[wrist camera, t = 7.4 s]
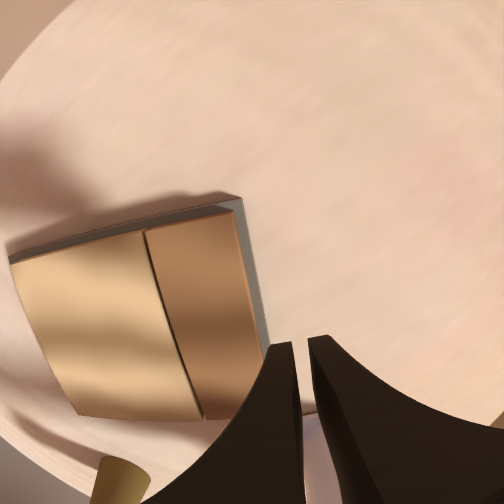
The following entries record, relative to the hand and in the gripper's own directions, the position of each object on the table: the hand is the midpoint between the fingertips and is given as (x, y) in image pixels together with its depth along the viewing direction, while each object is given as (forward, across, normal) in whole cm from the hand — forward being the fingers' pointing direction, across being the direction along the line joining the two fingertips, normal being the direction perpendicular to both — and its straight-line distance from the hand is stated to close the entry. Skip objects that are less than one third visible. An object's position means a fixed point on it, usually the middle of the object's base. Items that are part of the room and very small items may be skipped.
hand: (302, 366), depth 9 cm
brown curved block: (+9, +4, +2) cm, 11 cm away
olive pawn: (+10, +20, +21) cm, 31 cm away
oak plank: (+8, +12, +2) cm, 15 cm away
